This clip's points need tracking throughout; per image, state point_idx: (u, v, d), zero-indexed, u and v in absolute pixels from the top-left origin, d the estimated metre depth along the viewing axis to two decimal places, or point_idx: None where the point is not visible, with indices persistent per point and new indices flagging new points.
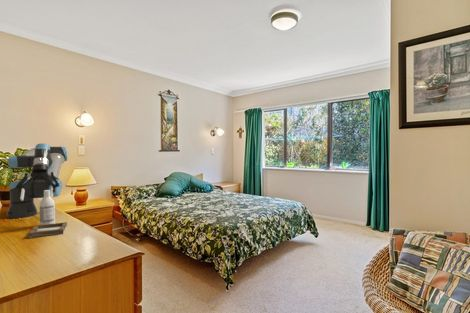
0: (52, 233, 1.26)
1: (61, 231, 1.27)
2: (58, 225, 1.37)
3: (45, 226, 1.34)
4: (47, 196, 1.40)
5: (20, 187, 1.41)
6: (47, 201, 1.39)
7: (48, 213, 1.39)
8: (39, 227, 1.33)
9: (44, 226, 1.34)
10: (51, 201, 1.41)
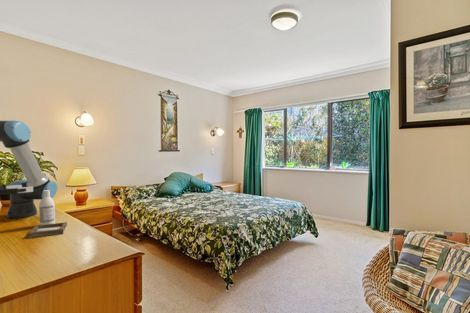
0: (52, 233, 1.26)
1: (61, 231, 1.27)
2: (58, 225, 1.37)
3: (45, 226, 1.34)
4: (46, 196, 1.40)
5: None
6: (47, 201, 1.39)
7: (48, 213, 1.39)
8: (39, 227, 1.33)
9: (44, 226, 1.34)
10: (51, 201, 1.40)
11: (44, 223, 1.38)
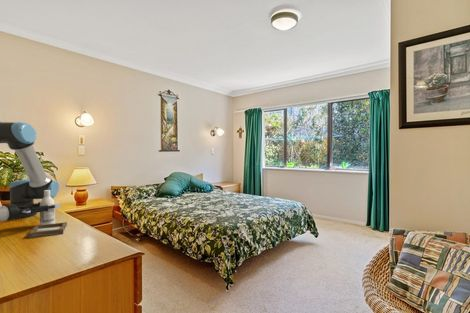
0: (52, 233, 1.26)
1: (61, 231, 1.27)
2: (58, 225, 1.37)
3: (45, 226, 1.34)
4: (47, 196, 1.40)
5: None
6: (47, 201, 1.39)
7: (48, 213, 1.39)
8: (39, 227, 1.33)
9: (44, 226, 1.34)
10: (51, 201, 1.41)
11: (44, 223, 1.38)
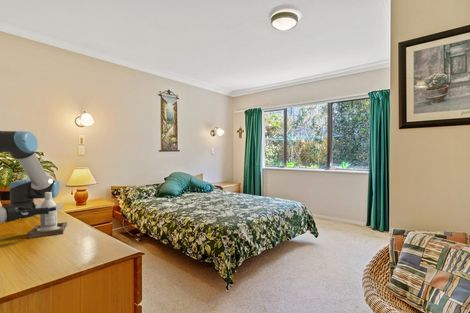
0: (52, 233, 1.26)
1: (61, 231, 1.27)
2: (58, 225, 1.37)
3: None
4: (48, 199, 1.29)
5: None
6: (49, 204, 1.28)
7: (49, 217, 1.28)
8: (39, 227, 1.33)
9: None
10: (53, 204, 1.30)
11: (45, 228, 1.27)
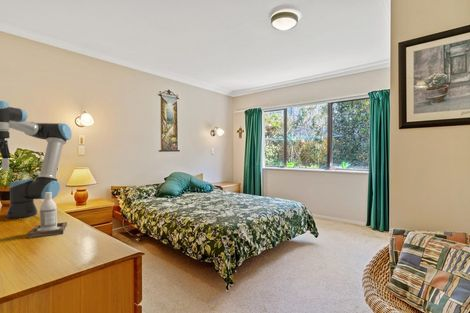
0: (52, 233, 1.26)
1: (61, 231, 1.27)
2: (58, 225, 1.37)
3: None
4: (48, 199, 1.29)
5: None
6: (48, 204, 1.28)
7: (49, 217, 1.28)
8: (39, 227, 1.33)
9: None
10: (53, 204, 1.30)
11: (45, 228, 1.27)
